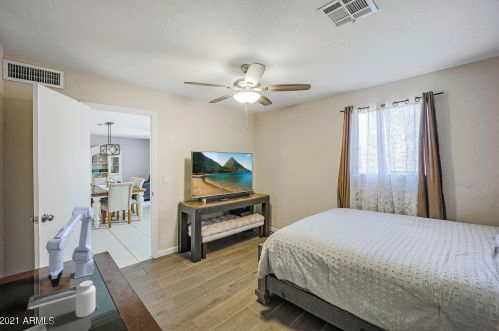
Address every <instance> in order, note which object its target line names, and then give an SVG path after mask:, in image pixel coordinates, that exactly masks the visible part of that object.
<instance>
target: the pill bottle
mask: <svg viewBox="0 0 499 331" xmlns="http://www.w3.org/2000/svg"><path fill="white" fill-rule="evenodd" d="M78 285H79V284H78ZM96 290H97V289H96V286H95V285H94V284H93V280H90V279H89V280H88V279H87V280H84V281H82V282H81V283H80V285H79V289H78V290H77V292H76V297H75V315H76V317H77V318H84V317H88V316H89V315H91V314H93V313H94V312H95V310H96V297H97V296H96V292H97V291H96Z"/></svg>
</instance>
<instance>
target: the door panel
mask: <svg viewBox="0 0 499 331" xmlns="http://www.w3.org/2000/svg"><path fill="white" fill-rule="evenodd" d="M38 287H39V288H38V289H39V291H38V292H39V293H38V295H39V296H40V295H44V294H48V293H52V292H56V291H60V290H64V289H67V288H70V287H71V273H66V274H62V276H61V278H60V281H59V285H58V286H57V287H52V283H51V281H50V279H48V278H45V279H40V280H39V286H38Z"/></svg>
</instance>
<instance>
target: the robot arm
mask: <svg viewBox="0 0 499 331" xmlns="http://www.w3.org/2000/svg"><path fill="white" fill-rule="evenodd" d="M95 211H96V210H95V209H94V207H91V206H90V207H86V206H84V207H83V206H76V207H74V208H73V210H72V212H71V217H70V219H69V221H68V222H67V224H66V225H65V226H62V227H61V228H60V229H59V230H58V232H57V233H56V235H55V236H53V238H51V239H49V240H48V241H47V242H46V246H45V249H46V251H47V253H48V269H46V270H45V273H46V274H47V273H49V274H48V276H47V279H50V281H51V283H52V287H57V286H58V285H59V281H60V278H61V276H62V275H64V273H63V271H64V268H65V266H64V248H65V247H66V246H67V243H68V239H69V238H70V237H71V235H72V233H74V232H73V231H74V228H75V226H76V225H77V224H78V223H79V222H80V221H81V227H80V233H79V242H78V246H76V247H75V248H74V249H73V252H72V255H71V260H72V261H73V262H74V263H75V272H74V275H73V276H74V277H73V279H79V278H82V277H83V278H84V277H88V276H91V275H93V274H94V269H95V267H94V258H93V257H94V247H92V246H91V245H90V236H91V229H92V222H93V221H92V220H94V219H95Z"/></svg>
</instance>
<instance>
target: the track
mask: <svg viewBox="0 0 499 331" xmlns="http://www.w3.org/2000/svg"><path fill="white" fill-rule="evenodd" d="M79 285H80V284H79V283H78V284H76V285H70V288H67V289H64V290H60V291H56V292H52V293H48V294H44V295H40V296H39V294H36V295H32V296H30V297H29V300H28V303H27V310H28V309H30V310H33V309H36V308H41V307H44V306H48V305H50V304H54V303H59V302H62V301H66V300H68V299H69V300H70V299H73V298H76V292H77V290H78V289H79Z"/></svg>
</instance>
